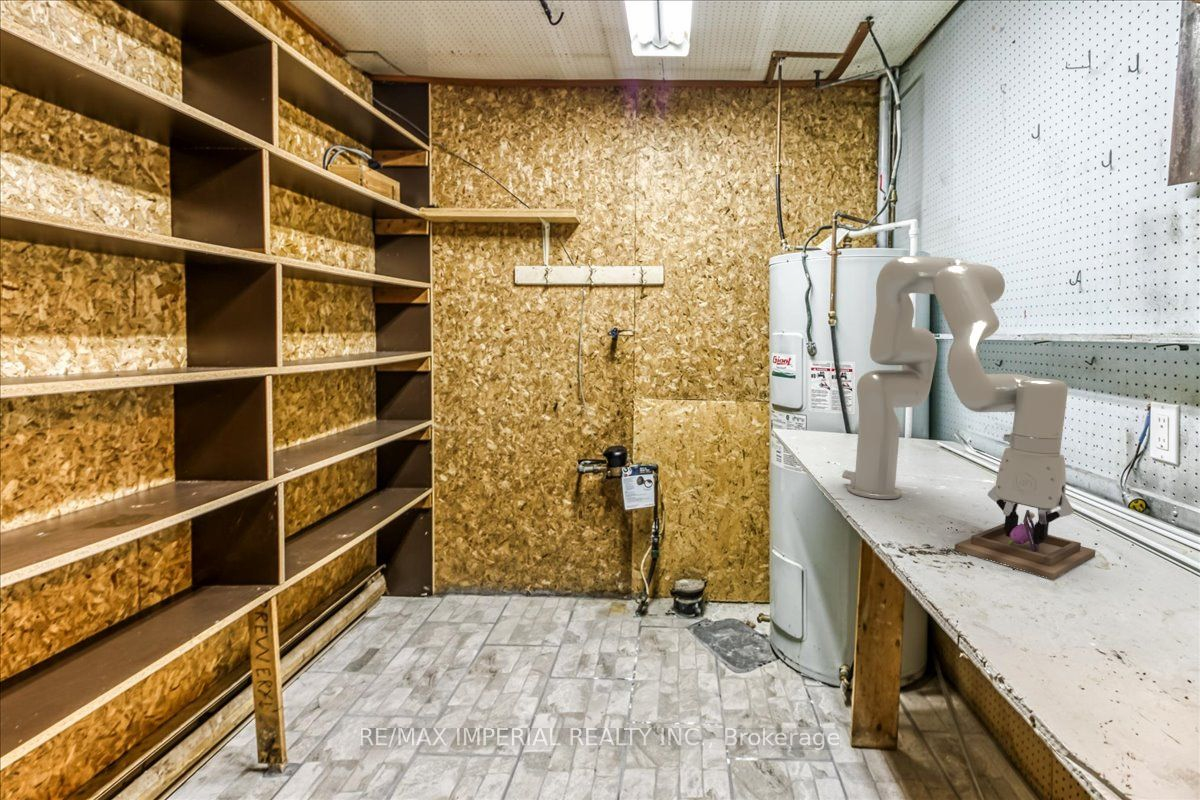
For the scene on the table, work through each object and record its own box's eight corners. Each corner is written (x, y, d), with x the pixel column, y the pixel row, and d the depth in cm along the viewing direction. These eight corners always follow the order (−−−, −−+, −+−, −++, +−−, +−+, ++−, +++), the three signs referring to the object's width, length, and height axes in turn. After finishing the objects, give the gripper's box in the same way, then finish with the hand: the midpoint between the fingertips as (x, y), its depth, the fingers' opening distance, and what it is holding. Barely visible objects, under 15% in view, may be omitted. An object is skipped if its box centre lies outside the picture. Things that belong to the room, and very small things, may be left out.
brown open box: (954, 550, 115) (955, 536, 115) (1000, 531, 126) (1002, 518, 126) (1052, 580, 102) (1054, 565, 102) (1094, 556, 113) (1096, 542, 113)
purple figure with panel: (1030, 521, 108) (1033, 509, 115) (997, 524, 111) (1002, 512, 118) (1041, 557, 108) (1043, 543, 115) (1007, 559, 111) (1012, 545, 118)
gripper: (977, 439, 116) (968, 529, 119) (1082, 455, 103) (1069, 557, 105) (995, 435, 120) (985, 522, 123) (1098, 451, 107) (1085, 549, 109)
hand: (1024, 538), depth 114 cm, fingers closed on purple figure with panel, 3 cm apart
